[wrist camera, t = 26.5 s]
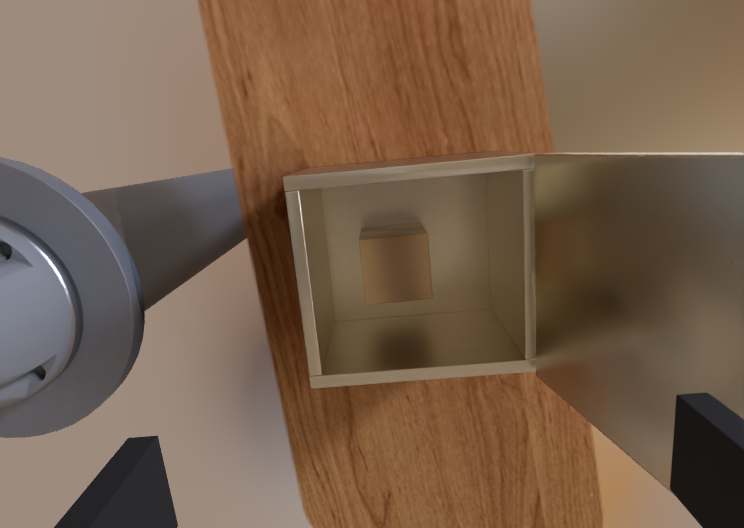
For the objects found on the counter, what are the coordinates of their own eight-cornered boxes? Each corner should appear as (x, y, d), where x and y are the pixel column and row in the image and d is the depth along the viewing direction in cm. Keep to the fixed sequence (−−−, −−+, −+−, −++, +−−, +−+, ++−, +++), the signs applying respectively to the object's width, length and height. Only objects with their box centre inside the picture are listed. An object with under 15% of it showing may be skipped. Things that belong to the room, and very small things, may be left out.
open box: (327, 328, 38) (310, 388, 29) (308, 167, 35) (282, 176, 26) (498, 314, 38) (539, 371, 28) (493, 150, 35) (537, 153, 25)
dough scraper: (788, 595, 14) (1027, 526, 15) (853, 155, 11) (1142, 121, 12) (535, 376, 28) (674, 350, 29) (533, 154, 25) (688, 138, 26)
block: (367, 286, 37) (366, 305, 32) (360, 228, 35) (358, 239, 31) (426, 280, 36) (432, 298, 32) (421, 221, 35) (427, 232, 31)
